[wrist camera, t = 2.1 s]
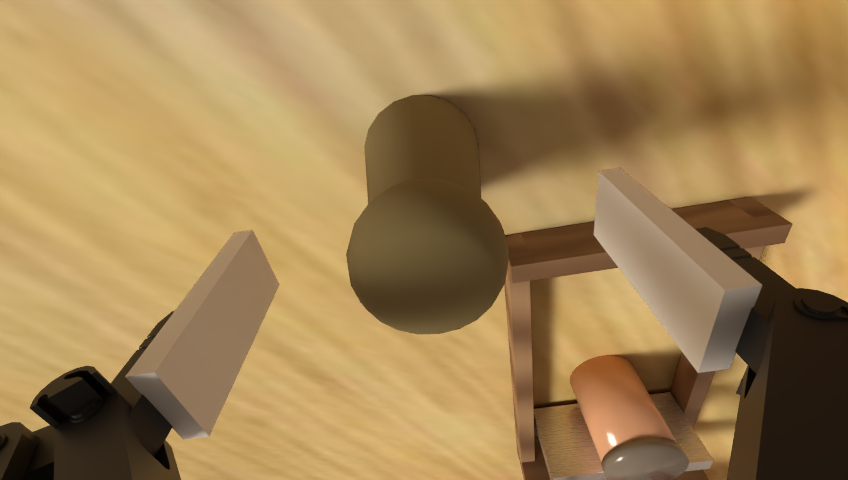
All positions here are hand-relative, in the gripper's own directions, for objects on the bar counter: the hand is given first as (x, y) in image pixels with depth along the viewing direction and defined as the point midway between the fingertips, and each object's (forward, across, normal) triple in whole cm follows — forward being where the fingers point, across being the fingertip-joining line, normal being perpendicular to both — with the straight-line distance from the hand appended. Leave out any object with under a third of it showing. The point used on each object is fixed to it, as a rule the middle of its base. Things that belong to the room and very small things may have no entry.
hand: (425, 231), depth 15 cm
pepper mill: (+7, 0, +1) cm, 7 cm away
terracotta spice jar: (+7, +11, -21) cm, 25 cm away
